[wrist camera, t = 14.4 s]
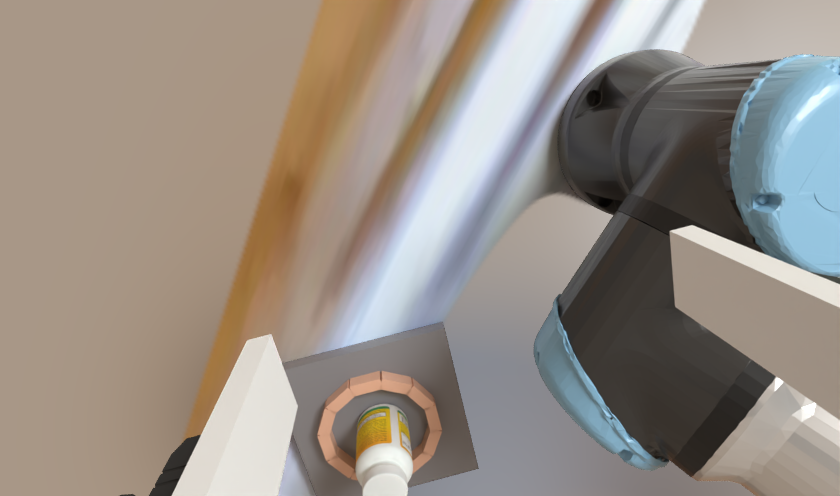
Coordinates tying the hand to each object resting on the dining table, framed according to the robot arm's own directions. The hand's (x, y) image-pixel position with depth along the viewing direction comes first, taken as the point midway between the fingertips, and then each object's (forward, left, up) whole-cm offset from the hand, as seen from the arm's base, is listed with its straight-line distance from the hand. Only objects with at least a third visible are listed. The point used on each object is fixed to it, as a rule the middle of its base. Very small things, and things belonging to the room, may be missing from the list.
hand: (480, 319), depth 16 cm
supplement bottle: (+9, +25, -30) cm, 40 cm away
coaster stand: (+9, +25, -32) cm, 41 cm away
